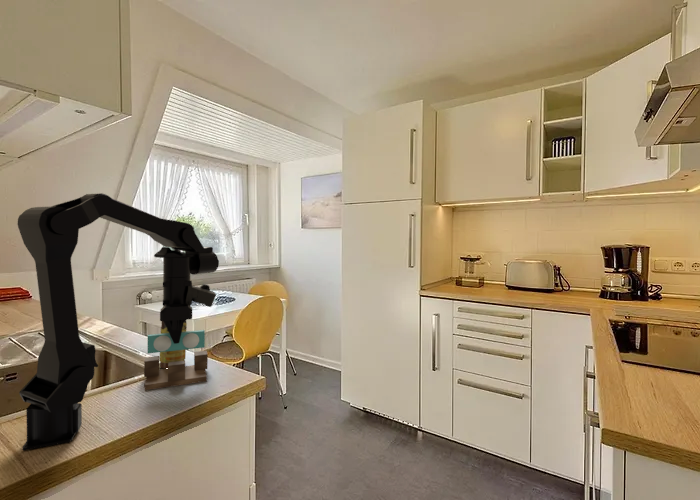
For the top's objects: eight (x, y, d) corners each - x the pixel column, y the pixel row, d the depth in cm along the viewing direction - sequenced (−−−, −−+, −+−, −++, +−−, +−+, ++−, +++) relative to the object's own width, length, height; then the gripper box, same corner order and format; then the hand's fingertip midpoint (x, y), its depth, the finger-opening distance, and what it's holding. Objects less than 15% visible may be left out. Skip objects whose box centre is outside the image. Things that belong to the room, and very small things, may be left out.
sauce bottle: (166, 372, 91) (166, 295, 90) (155, 366, 94) (155, 292, 94) (190, 365, 96) (191, 292, 95) (179, 360, 100) (179, 289, 99)
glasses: (147, 353, 80) (147, 336, 80) (150, 343, 87) (150, 327, 87) (204, 347, 85) (204, 331, 85) (202, 338, 92) (202, 323, 92)
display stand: (142, 390, 80) (142, 369, 79) (145, 376, 88) (145, 356, 88) (208, 381, 86) (208, 360, 86) (206, 368, 94) (206, 349, 94)
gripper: (217, 280, 78) (216, 350, 78) (210, 271, 95) (210, 329, 95) (160, 281, 73) (159, 356, 74) (163, 272, 90) (163, 333, 90)
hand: (176, 342), depth 83 cm, fingers closed on glasses
